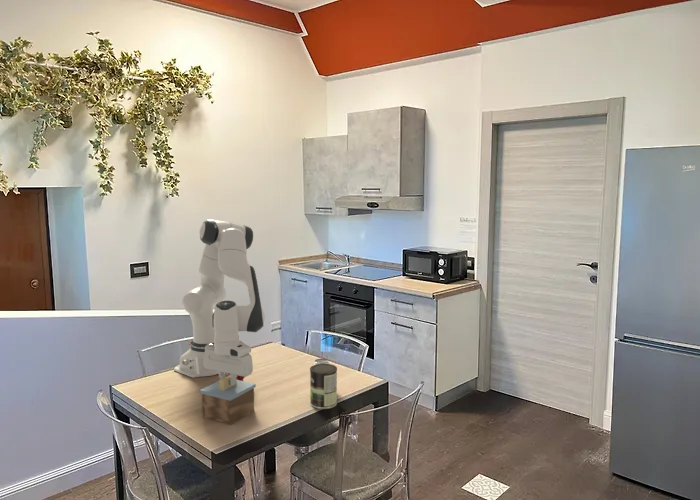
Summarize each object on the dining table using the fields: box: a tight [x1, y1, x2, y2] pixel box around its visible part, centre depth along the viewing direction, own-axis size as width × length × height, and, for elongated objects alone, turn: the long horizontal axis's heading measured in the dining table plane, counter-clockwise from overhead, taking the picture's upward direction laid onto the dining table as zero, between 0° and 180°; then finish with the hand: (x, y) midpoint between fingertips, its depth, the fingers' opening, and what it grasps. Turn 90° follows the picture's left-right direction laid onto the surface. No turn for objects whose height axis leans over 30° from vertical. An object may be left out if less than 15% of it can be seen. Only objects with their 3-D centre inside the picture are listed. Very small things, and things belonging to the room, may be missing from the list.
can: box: [313, 358, 330, 365], centre depth 215 cm, size 6×6×12 cm
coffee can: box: [309, 363, 338, 410], centre depth 200 cm, size 10×10×14 cm
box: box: [201, 388, 255, 426], centre depth 191 cm, size 13×13×9 cm
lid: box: [199, 375, 256, 401], centre depth 191 cm, size 14×14×6 cm
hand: (228, 383), depth 191 cm, fingers closed on lid
